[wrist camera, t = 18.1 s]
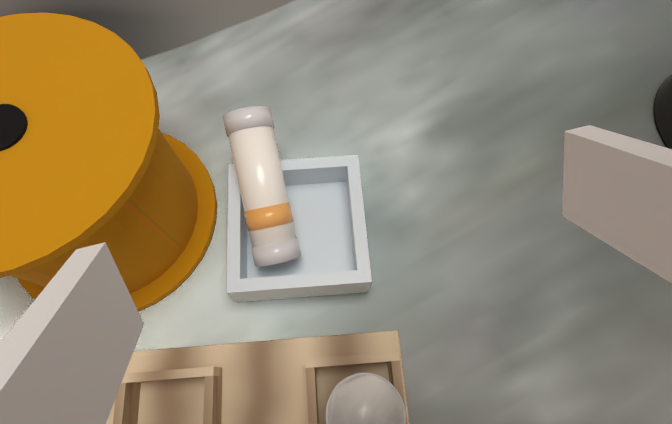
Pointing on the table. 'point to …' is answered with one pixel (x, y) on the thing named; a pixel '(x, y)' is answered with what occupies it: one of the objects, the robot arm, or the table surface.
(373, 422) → the fuse
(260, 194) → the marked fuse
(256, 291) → the tray
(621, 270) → the table surface
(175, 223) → the spool
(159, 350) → the fuse block
